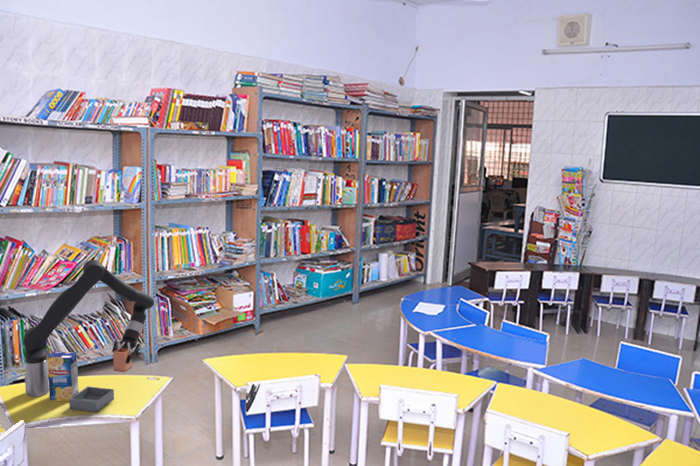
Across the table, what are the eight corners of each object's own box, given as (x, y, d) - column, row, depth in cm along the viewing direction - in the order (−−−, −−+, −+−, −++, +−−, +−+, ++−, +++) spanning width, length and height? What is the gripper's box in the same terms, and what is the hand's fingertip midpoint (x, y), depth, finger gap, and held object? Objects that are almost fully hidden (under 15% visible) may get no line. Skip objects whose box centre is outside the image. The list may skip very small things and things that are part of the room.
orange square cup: (113, 371, 279) (113, 351, 277) (120, 366, 285) (120, 347, 283) (125, 372, 278) (124, 353, 276) (131, 367, 284) (131, 348, 282)
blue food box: (72, 400, 274) (70, 357, 270) (49, 400, 273) (46, 357, 269) (78, 394, 280) (76, 352, 276) (56, 393, 280) (53, 351, 276)
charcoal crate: (69, 409, 266) (69, 399, 265) (88, 395, 279) (87, 386, 278) (96, 412, 263) (96, 402, 262) (114, 398, 277) (113, 389, 276)
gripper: (117, 326, 286) (103, 358, 277) (143, 329, 284) (131, 361, 275) (123, 333, 292) (110, 363, 283) (148, 336, 290) (137, 367, 281)
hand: (120, 362), depth 279 cm, fingers closed on orange square cup, 6 cm apart
